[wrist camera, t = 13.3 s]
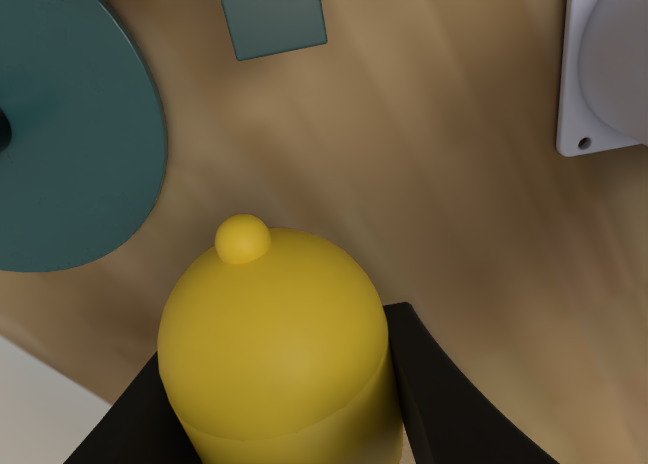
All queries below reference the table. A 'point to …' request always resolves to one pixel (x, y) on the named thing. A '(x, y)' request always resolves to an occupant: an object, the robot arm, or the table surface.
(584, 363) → the table surface
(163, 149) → the lid
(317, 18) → the pot
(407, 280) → the table surface
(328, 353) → the small lemon
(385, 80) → the table surface
